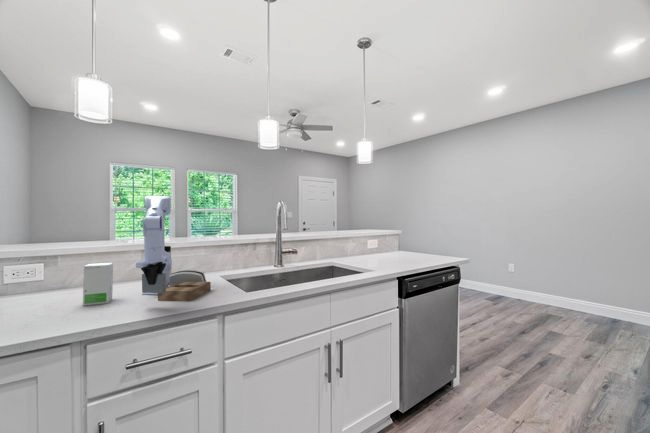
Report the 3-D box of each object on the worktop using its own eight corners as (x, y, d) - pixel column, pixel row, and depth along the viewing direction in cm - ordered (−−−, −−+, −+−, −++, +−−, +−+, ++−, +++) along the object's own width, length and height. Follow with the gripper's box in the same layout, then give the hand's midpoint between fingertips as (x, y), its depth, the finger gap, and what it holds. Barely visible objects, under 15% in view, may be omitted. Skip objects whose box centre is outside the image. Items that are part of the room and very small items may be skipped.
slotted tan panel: (157, 300, 110) (157, 290, 110) (182, 289, 126) (182, 281, 126) (190, 301, 109) (190, 291, 109) (210, 290, 125) (210, 281, 125)
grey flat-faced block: (142, 292, 101) (141, 274, 101) (146, 291, 103) (145, 273, 103) (162, 293, 100) (161, 274, 100) (165, 291, 102) (165, 273, 102)
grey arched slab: (208, 284, 136) (206, 267, 132) (205, 290, 131) (202, 272, 128) (174, 285, 134) (170, 268, 131) (169, 291, 130) (165, 273, 126)
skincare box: (82, 306, 104) (81, 266, 104) (88, 301, 110) (88, 263, 110) (109, 303, 108) (108, 264, 108) (113, 298, 114) (113, 261, 114)
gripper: (149, 250, 94) (149, 289, 94) (175, 245, 108) (176, 279, 108) (130, 250, 95) (130, 288, 95) (159, 245, 109) (159, 279, 109)
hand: (153, 283), depth 102 cm, fingers closed on grey flat-faced block, 2 cm apart
